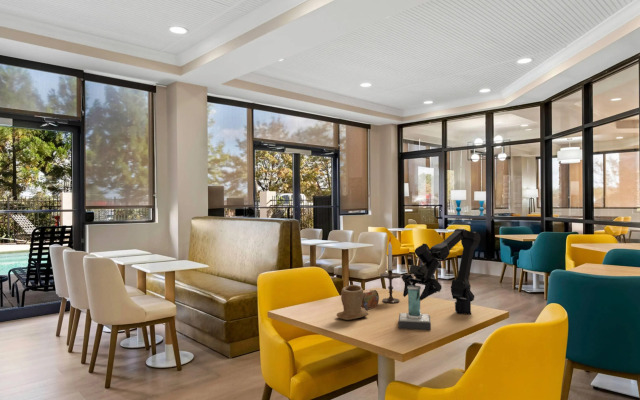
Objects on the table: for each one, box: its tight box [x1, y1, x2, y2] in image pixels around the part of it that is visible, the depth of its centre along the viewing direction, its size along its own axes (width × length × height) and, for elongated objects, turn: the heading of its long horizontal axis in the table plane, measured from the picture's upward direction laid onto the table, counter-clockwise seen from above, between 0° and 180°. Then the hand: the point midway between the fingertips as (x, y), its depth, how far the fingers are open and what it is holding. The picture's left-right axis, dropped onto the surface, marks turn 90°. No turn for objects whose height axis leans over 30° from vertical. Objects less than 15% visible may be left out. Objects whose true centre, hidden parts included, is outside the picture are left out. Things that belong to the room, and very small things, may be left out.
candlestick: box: [379, 236, 402, 305], centre depth 224 cm, size 11×11×35 cm
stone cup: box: [336, 284, 369, 321], centre depth 192 cm, size 15×12×15 cm
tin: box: [361, 289, 380, 311], centre depth 211 cm, size 15×3×8 cm, turn 143°
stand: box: [398, 312, 432, 331], centre depth 179 cm, size 13×13×4 cm
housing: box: [406, 284, 423, 319], centre depth 179 cm, size 7×7×13 cm
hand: (411, 298), depth 179 cm, fingers open, 9 cm apart
